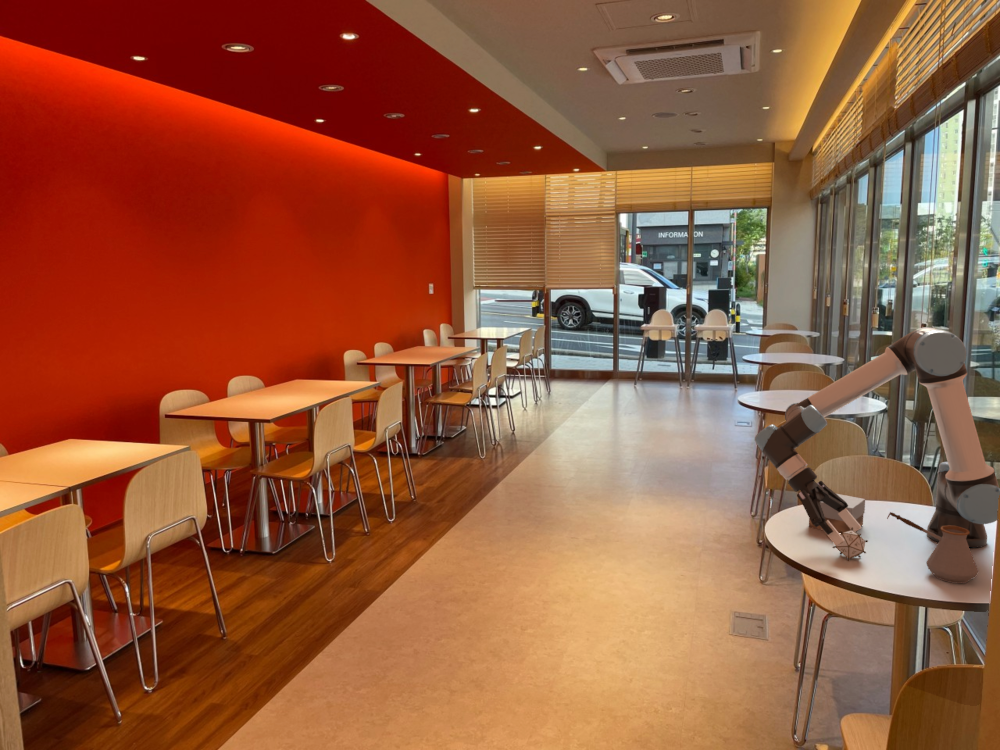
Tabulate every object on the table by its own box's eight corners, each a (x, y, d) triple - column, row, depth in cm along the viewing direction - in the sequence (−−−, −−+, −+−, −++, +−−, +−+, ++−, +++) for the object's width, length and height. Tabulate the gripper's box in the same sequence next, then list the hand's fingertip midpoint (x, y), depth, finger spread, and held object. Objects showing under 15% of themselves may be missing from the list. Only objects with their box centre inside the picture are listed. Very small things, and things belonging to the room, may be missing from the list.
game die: (856, 572, 205) (878, 551, 198) (828, 562, 205) (849, 541, 198) (851, 547, 212) (872, 526, 205) (823, 536, 212) (844, 515, 205)
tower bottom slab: (862, 527, 231) (863, 513, 231) (849, 537, 223) (849, 522, 222) (823, 518, 239) (824, 505, 239) (808, 528, 231) (809, 514, 230)
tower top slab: (864, 513, 231) (865, 499, 230) (851, 522, 222) (852, 508, 221) (824, 505, 239) (825, 491, 238) (810, 514, 230) (811, 500, 229)
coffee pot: (977, 574, 194) (982, 518, 192) (977, 590, 184) (982, 532, 182) (885, 558, 205) (889, 505, 203) (881, 572, 196) (885, 517, 194)
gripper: (805, 472, 224) (854, 531, 216) (769, 490, 206) (821, 555, 198) (824, 458, 220) (875, 518, 211) (789, 475, 202) (843, 541, 194)
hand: (849, 536), depth 205 cm, fingers open, 13 cm apart
